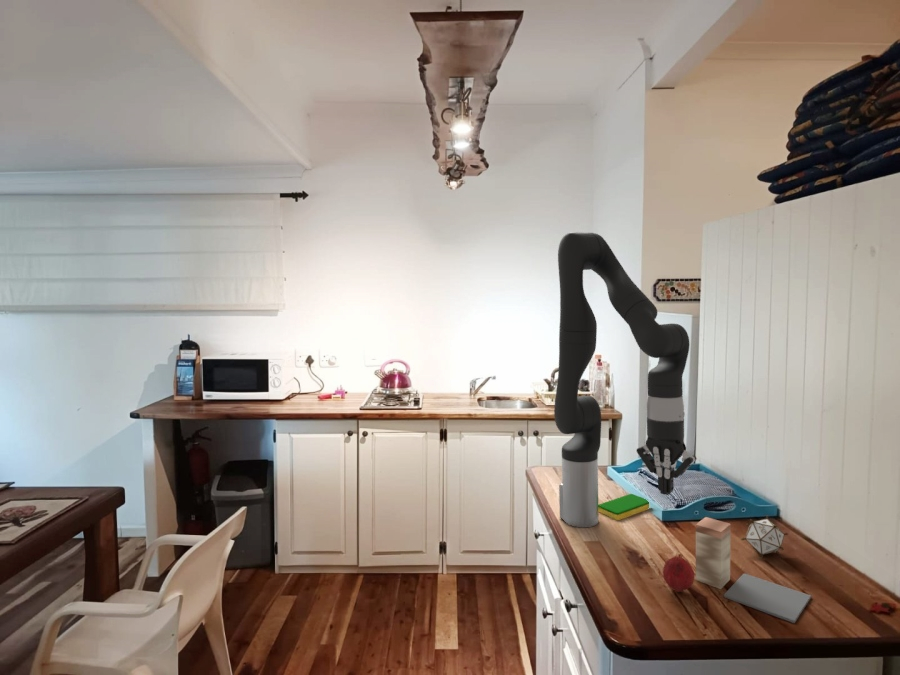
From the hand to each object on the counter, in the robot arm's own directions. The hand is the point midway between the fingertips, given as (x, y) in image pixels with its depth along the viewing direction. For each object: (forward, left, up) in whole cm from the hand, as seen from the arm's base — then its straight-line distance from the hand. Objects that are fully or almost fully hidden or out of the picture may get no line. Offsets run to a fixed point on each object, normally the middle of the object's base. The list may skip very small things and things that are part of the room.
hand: (665, 493), depth 117 cm
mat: (+20, +1, -16) cm, 26 cm away
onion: (+7, -9, -16) cm, 20 cm away
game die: (+14, +19, -16) cm, 29 cm away
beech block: (+10, 0, -16) cm, 19 cm away
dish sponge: (-21, +20, -17) cm, 33 cm away
